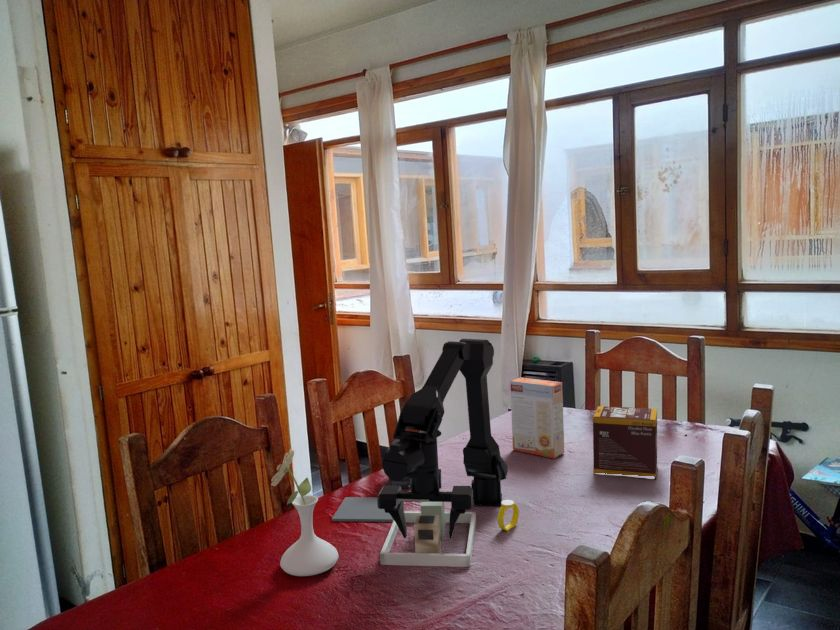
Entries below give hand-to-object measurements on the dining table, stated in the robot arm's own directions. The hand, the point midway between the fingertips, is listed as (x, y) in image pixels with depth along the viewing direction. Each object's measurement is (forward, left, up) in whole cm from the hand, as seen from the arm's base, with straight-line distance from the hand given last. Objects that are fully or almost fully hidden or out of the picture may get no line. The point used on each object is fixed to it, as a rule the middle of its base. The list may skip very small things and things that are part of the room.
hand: (427, 537), depth 131 cm
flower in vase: (+23, +8, -3) cm, 24 cm away
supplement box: (-46, -45, -3) cm, 65 cm away
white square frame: (0, -4, -3) cm, 5 cm away
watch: (-16, -11, -3) cm, 20 cm away
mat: (+17, -19, -3) cm, 26 cm away
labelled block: (0, 0, -3) cm, 3 cm away
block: (0, -9, -3) cm, 9 cm away
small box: (+11, -37, -3) cm, 39 cm away
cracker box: (-24, -59, -3) cm, 64 cm away
